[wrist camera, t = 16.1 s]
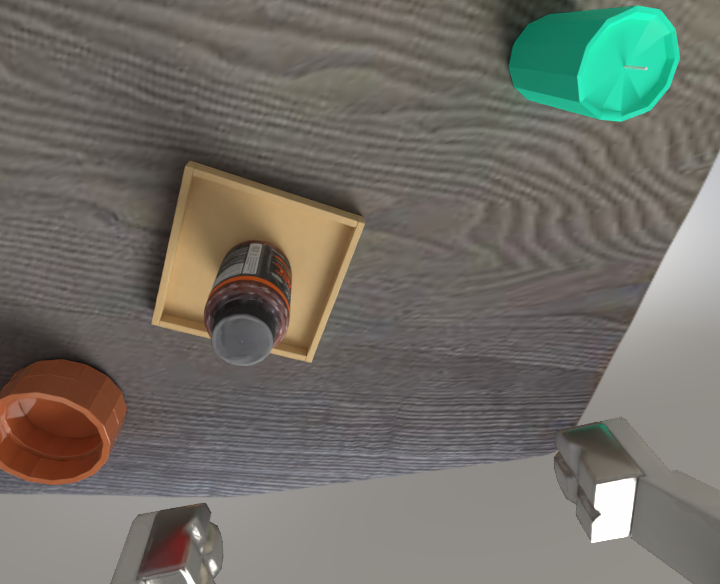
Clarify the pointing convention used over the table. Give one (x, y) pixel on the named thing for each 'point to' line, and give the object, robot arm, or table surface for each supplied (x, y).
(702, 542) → the robot arm
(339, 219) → the tray
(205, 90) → the table surface
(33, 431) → the bowl
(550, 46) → the candle
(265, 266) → the supplement bottle
